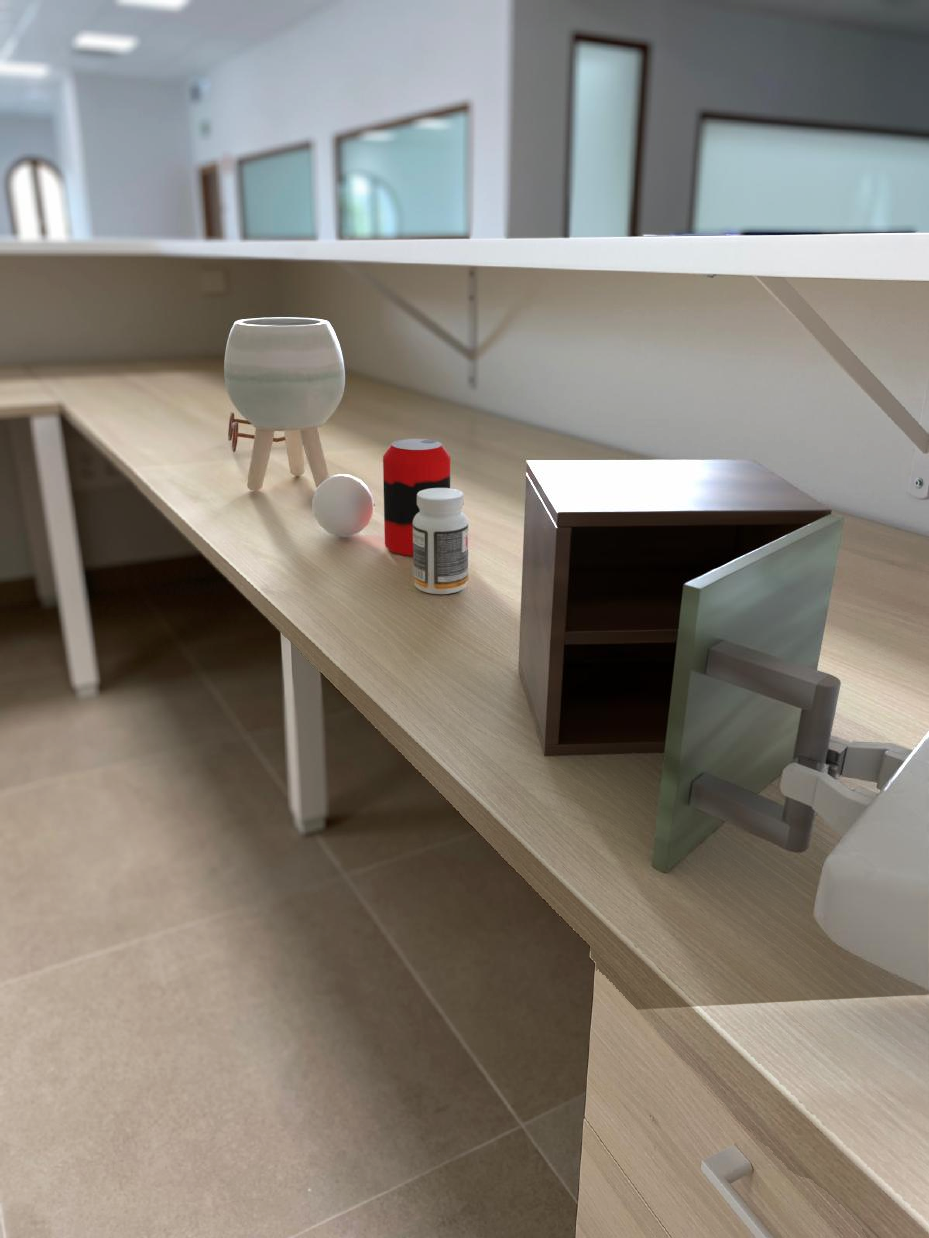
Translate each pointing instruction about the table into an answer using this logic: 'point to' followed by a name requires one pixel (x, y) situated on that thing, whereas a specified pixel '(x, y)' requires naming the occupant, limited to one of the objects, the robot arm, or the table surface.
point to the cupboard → (628, 584)
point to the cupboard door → (748, 694)
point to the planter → (285, 387)
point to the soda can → (410, 486)
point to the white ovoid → (343, 505)
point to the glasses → (234, 431)
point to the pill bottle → (440, 542)
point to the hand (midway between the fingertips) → (798, 761)
